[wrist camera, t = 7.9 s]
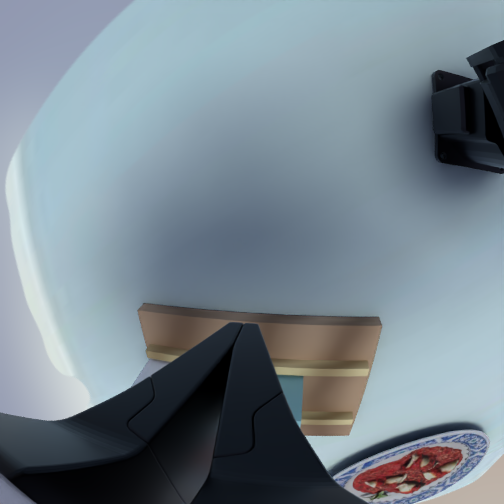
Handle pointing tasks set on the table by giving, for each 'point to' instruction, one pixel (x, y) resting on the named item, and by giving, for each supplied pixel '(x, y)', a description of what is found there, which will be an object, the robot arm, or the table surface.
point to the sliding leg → (293, 393)
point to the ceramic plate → (415, 468)
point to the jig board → (285, 354)
